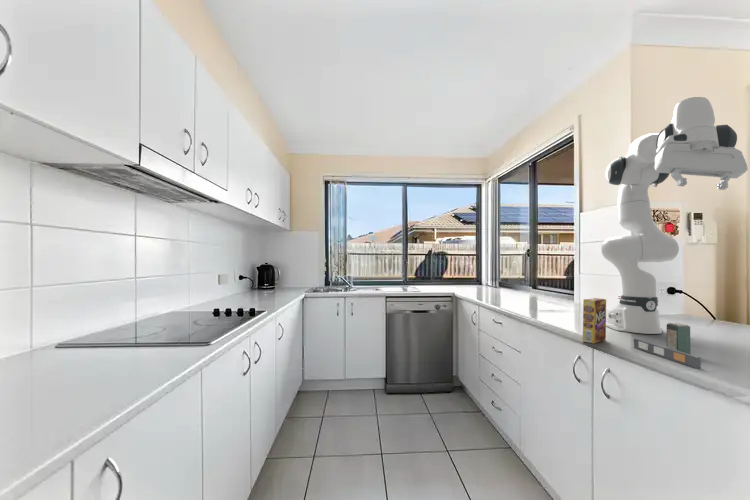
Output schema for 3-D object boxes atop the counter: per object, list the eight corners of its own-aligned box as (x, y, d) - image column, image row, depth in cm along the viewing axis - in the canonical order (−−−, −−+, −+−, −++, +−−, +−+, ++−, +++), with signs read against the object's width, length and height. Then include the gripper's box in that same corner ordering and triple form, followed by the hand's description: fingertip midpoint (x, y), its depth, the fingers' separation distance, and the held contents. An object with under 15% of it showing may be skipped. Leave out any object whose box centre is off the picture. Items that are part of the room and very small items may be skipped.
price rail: (633, 347, 119) (633, 338, 119) (637, 347, 119) (637, 338, 119) (695, 368, 97) (695, 357, 97) (700, 368, 97) (700, 357, 97)
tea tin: (666, 352, 113) (666, 322, 113) (678, 352, 113) (678, 322, 113) (677, 355, 109) (677, 325, 109) (690, 355, 109) (690, 325, 109)
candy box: (595, 344, 123) (594, 300, 123) (582, 341, 127) (581, 299, 127) (607, 340, 128) (606, 298, 128) (594, 338, 131) (594, 297, 132)
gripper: (731, 155, 101) (738, 196, 96) (650, 149, 105) (653, 189, 101) (749, 140, 95) (758, 184, 90) (662, 135, 100) (666, 176, 95)
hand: (702, 186), depth 95 cm, fingers open, 8 cm apart
